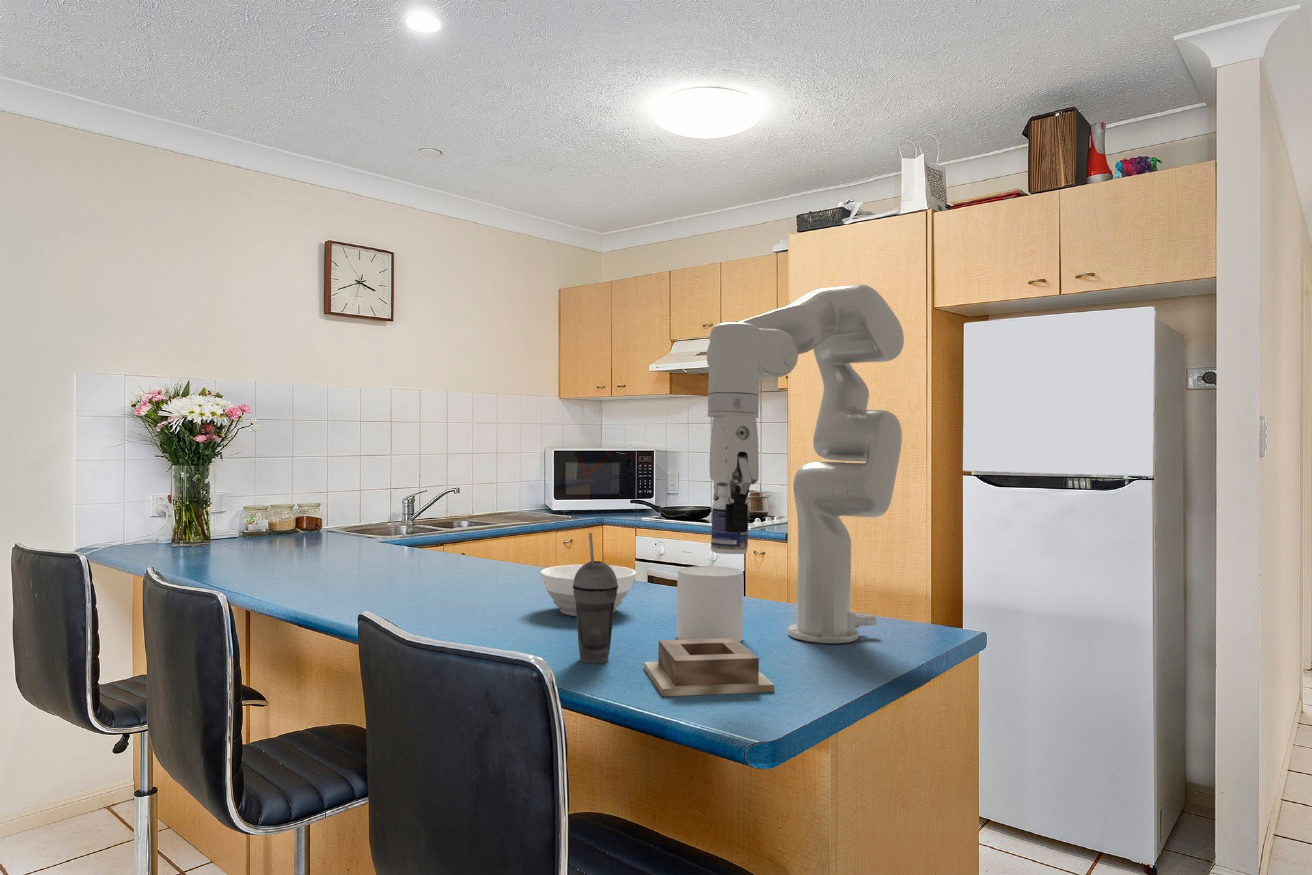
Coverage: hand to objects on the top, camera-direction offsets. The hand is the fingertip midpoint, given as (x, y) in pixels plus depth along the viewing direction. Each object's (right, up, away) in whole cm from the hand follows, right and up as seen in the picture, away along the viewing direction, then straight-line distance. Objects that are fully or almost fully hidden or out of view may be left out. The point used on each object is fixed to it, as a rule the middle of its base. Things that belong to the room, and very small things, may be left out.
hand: (729, 528), depth 121 cm
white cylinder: (-1, -22, +25) cm, 34 cm away
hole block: (-4, -22, -1) cm, 22 cm away
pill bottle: (0, -4, 0) cm, 4 cm away
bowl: (-25, -22, +46) cm, 57 cm away
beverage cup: (-21, -22, +9) cm, 31 cm away
